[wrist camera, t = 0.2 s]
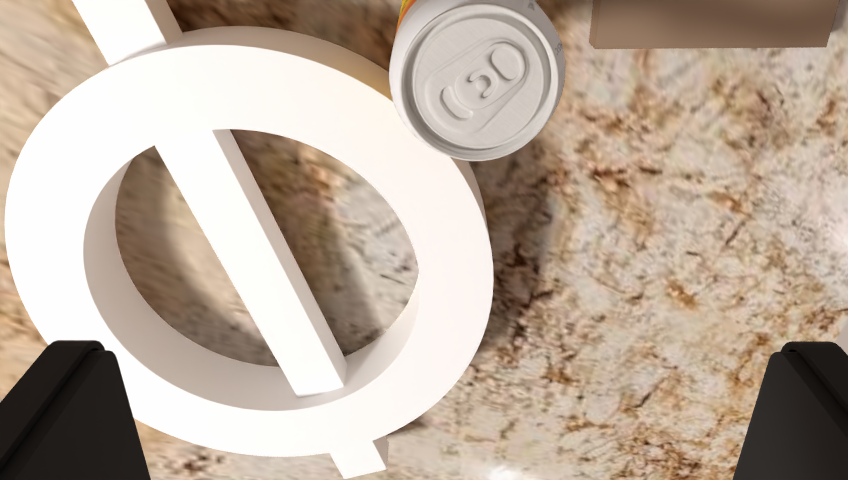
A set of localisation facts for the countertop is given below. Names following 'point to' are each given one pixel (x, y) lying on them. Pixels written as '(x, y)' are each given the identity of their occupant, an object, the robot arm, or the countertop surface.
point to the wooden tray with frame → (711, 23)
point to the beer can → (475, 74)
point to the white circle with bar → (245, 235)
